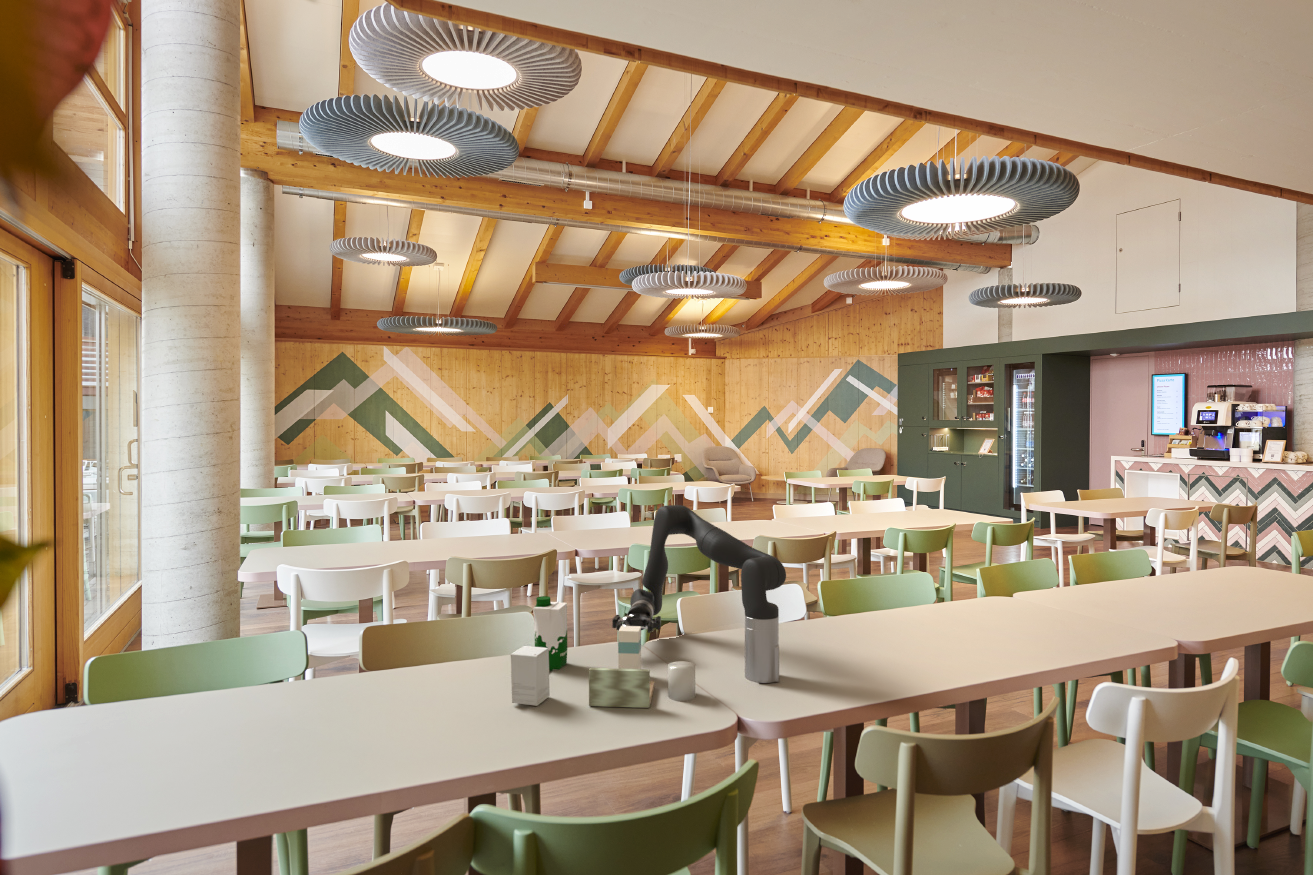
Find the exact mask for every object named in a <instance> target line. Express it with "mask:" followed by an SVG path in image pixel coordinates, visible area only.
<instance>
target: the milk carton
mask: <svg viewBox="0 0 1313 875" xmlns="http://www.w3.org/2000/svg"><path fill="white" fill-rule="evenodd" d="M535 603H536V604H535V606H534V607H532V611H533V620H534V622H533V624H534V647H543V648H549V672H553V671H554V670H560V669H561V668H562V667H564V666H566V665H567V663H568V603H567V602H559V601H551V596H548V595H546V596H545V595H544V596H542V595H541V596H537V597H536V602H535Z"/></svg>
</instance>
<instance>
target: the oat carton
mask: <svg viewBox="0 0 1313 875" xmlns="http://www.w3.org/2000/svg"><path fill="white" fill-rule="evenodd" d="M617 631H618V630H617ZM617 633H618V642H617V646H618V648H617V653H618V661H617V662H618V664H617V665H618V668H617V669H642V630H641V626H621V627H620V629H619V631H618V632H617Z"/></svg>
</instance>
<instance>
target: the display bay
mask: <svg viewBox="0 0 1313 875" xmlns="http://www.w3.org/2000/svg"><path fill="white" fill-rule="evenodd" d="M650 671H651V670H650V669H647V668H646V669H642V668H641V669H618V668H610V667H608V668H606V667H590V668H589V669H588V706H589V707H610V708H611V707H613V708H616V707H617V708H645V709H649V708H650V707H651V704H652V700H653V696H654V692H655V687H656V686H655V683H656V681H655V680H653V681H652V680H650V679H651V676H650V675H651V672H650Z"/></svg>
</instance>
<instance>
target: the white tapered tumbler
mask: <svg viewBox="0 0 1313 875" xmlns="http://www.w3.org/2000/svg"><path fill="white" fill-rule="evenodd" d="M667 697H668V699H670V700H673V701H676V702H689V701H692V700H693V699H695V698H696V664H695V663H693V662H690V661H683V660H681V661H680V660H679V661H673V662H672V661H671V662H669V663H668V664H667Z"/></svg>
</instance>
